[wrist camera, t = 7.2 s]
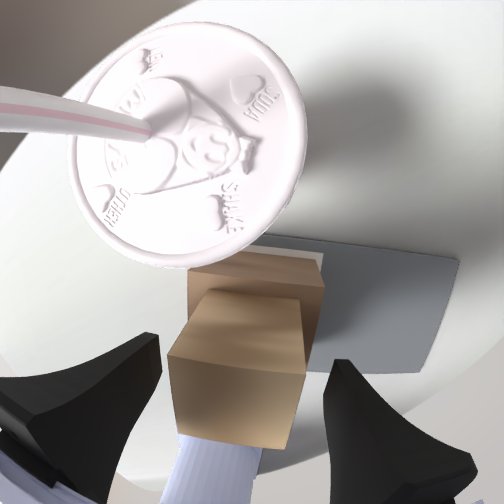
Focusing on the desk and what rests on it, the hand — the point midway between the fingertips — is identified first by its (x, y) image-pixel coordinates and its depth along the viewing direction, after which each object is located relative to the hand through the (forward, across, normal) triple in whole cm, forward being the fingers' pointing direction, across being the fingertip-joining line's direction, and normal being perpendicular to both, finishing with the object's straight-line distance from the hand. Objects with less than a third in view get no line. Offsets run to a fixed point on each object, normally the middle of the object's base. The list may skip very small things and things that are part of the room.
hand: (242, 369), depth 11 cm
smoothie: (+7, +2, -8) cm, 11 cm away
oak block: (+2, 0, 0) cm, 2 cm away
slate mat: (+7, -5, 0) cm, 8 cm away
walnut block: (+6, 0, 0) cm, 6 cm away
